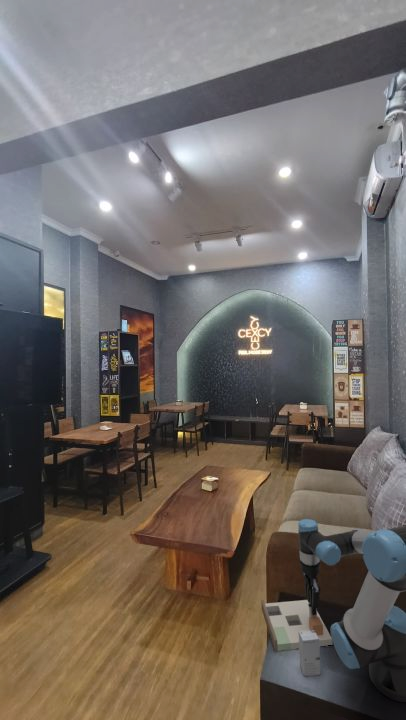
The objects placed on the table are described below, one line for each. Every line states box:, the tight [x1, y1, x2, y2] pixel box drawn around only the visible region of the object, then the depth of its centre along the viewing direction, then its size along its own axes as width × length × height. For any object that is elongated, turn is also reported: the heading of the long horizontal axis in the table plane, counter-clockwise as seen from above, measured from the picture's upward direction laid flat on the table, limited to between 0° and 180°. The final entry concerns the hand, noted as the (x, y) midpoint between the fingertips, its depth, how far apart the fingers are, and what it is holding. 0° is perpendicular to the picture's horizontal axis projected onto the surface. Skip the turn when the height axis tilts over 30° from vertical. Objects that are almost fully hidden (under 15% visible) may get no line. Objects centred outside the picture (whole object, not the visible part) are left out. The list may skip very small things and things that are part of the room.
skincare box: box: [298, 630, 321, 677], centre depth 120 cm, size 6×4×12 cm
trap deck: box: [260, 599, 334, 652], centre depth 140 cm, size 22×22×4 cm
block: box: [309, 617, 323, 635], centre depth 134 cm, size 4×4×4 cm
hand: (313, 620), depth 137 cm, fingers closed
